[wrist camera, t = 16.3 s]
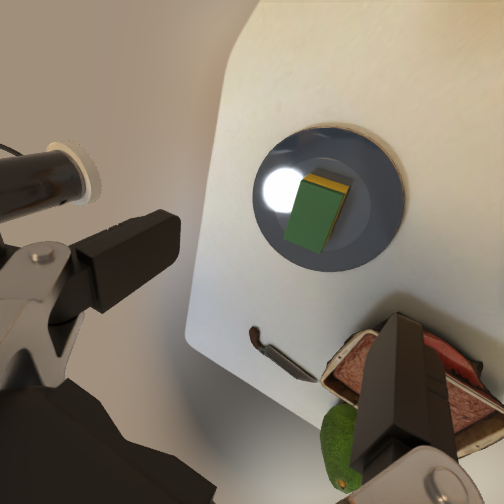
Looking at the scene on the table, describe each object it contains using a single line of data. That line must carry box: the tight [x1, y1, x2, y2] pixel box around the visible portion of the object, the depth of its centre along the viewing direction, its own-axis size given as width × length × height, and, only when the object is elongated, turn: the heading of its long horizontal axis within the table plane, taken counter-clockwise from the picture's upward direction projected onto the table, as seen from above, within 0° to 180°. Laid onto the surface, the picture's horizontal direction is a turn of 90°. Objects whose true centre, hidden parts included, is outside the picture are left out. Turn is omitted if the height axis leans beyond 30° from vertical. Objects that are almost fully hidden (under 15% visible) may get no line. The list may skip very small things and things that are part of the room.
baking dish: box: [320, 312, 504, 459], centre depth 34 cm, size 14×18×10 cm
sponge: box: [283, 174, 349, 254], centre depth 30 cm, size 4×7×4 cm, turn 168°
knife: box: [249, 327, 317, 383], centre depth 47 cm, size 14×4×1 cm, turn 63°
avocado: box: [320, 404, 362, 494], centre depth 41 cm, size 8×8×12 cm
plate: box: [253, 126, 404, 272], centre depth 32 cm, size 17×17×1 cm
